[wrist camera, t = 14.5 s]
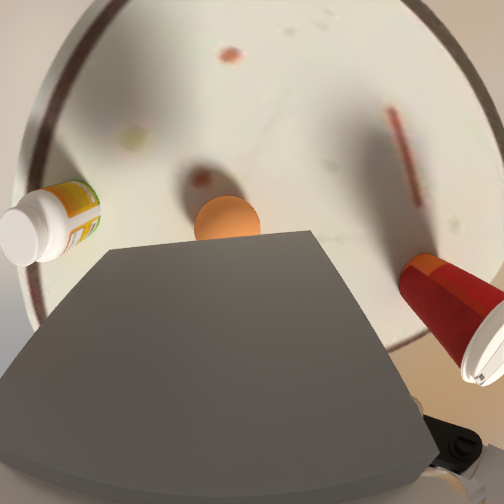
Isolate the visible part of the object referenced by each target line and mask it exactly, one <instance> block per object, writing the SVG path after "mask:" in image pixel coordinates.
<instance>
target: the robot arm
mask: <svg viewBox="0 0 504 504" xmlns="http://www.w3.org/2000/svg"><path fill="white" fill-rule="evenodd" d="M412 398H413V400H414V402H415V404H416V406H417V408H418V409H419V411H420V413H421V415H422V417H423V419H424V421H425V423H426V425H427V427H428V429H429V431H430V433H431V435H432V437H433V439H434V441H435V443H436V445H437V447H438V450H439V452H440V453H439V454H438V455H437V456H436V458H435V459H434V460H433V461H432V463H431V464H430V465H429V466H428V467H427V469H426V470H425V471H424V472H423V473H422V474H421V475H420V476H419V478H418V479H417V480H416V481H415V482H412V483H409V484H407V485H404V486H401V487H398V488H395V489H392V490H389V491H386V492H382V493H379V494H376V495H372V496H369V497H365V498H361V499H357V500H353V501H349V502H345V503H340V504H504V450H502V449H499V448H497V447H494V446H493V445H490V444H488V446H487V447H486V446H484V445H482V440H481V439H480V437H479V435H477V433H475V432H474V431H472V430H470V429H467V428H463V427H460V426H457V425H454V424H451V423H447V422H444V421H441V420H438V419H435V418H432V417H430V416H427V415H424V414H423V407H422V405H421V403H420V402H419V401H418V400H417V399H416V398H415V397H413V396H412ZM0 504H118V503H114V502H110V501H106V500H102V499H98V498H94V497H90V496H87V495H84V494H80V493H77V492H74V491H71V490H68V489H65V488H62V487H59V486H56V485H54V484H51V483H48V482H46V481H43V480H41V479H38V478H36V477H33V476H31V475H29V474H26V473H24V472H22V471H20V470H18V469H16V468H13V467H11V466H9V465H7V464H5V463H3V462H1V461H0Z"/></svg>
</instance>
